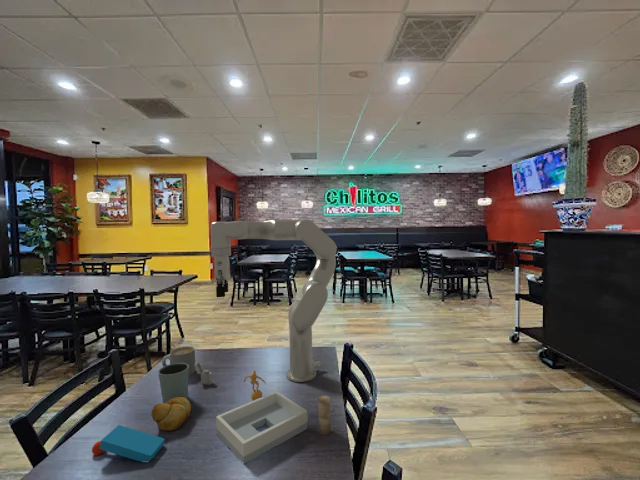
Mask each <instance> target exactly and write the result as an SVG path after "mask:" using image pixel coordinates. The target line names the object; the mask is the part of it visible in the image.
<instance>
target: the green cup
mask: <svg viewBox="0 0 640 480" xmlns="http://www.w3.org/2000/svg"><path fill="white" fill-rule="evenodd" d="M157 373H158V378H159V385H160V388H159V389H160V393H161V398H162V399H161V402H162V403H166V402H167V401H169V400H171V399H173V398H176V397H184V398H186V399H187V400H188V399H189V375H188V373H189V365H188V364H186V363H174V364H170V363H169V364H167V366H164V367H163V366H162V367H161V368H160V369H158V372H157Z"/></svg>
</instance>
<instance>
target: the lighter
mask: <svg viewBox="0 0 640 480" xmlns="http://www.w3.org/2000/svg"><path fill="white" fill-rule="evenodd" d="M194 366H195V372H196V373H197V375H200V383H201V385H209V386H210V385H211V384H213V372H212V371H211V372H210V370H209V369H204V370H203V368H202V366H201V364H200V362H197V363H195V365H194Z"/></svg>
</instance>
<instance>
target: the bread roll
mask: <svg viewBox="0 0 640 480" xmlns="http://www.w3.org/2000/svg"><path fill="white" fill-rule="evenodd" d="M191 412H192V404H191V402H190V401H189V400H188V399H186V398H184V397H176V398H173V399H171V400H169V401H167V402H166V403H163V402H162V403H156V404H155V405H154V406H153V407H152V408H151V413H150V414H151V417H152V418H151V419H152V420H153V422H155V423H156V424H157V428H158V429H159V430H161V431H165V432H170V431H174V430H177V429H179V427H181V426H183V423H185V422H186V421H187V420H188V419H189V417H190V415H191Z"/></svg>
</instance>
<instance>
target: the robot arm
mask: <svg viewBox="0 0 640 480" xmlns="http://www.w3.org/2000/svg"><path fill="white" fill-rule="evenodd" d="M231 239H232V240H248V239H249V240H257V239H258V240H268V241H269V240H270V241H302V242H303V243H304V244H305V245H306V246H307V247H308V248H309V249H310V250H312V252H313V253H314V255H315V257H316V262H315V266H314V267H313V269H312V271H311V273H310V275H308V278H307V280H306V281H305V283H304V284H303V287H302V290H301V293H302V296H301V297H300V298H301V299H300V300H296V301H294V302H292V304H290V306H289V308H288V313H287V314H288V329H289V331H288V333H289V336H288V337H289V369H288V371H287V372H286V378H287V379H288V380H289V381H291V382H295V383H307V382H310V381H312V380H314V379H315V378H316V377H317V371H316V370H315V369H316V368H317V367H321V366H322V363H321V361H320V360H319V361H315V360H313V325H314V324H315V323H316V321H317V319H318V317H319V315H320V314H321V312H322V310H323V309H324V306H325V305H326V303H327V300H328V298H329V297H328V296H329V293H328V292H329V291H328V288H327V286H328V285H329V283H330V282H331V279H332V277H333V275H334V273H335V270H336V267H337V260H336V253H337V250H338V249H337V244H336V242H335V241H334V240H333V239H332V238H331V237H329V235H327V234H326V233H325V232H324V231H323V230H322V229H321V228H320V227H318V225H317V224H316V223H314V221H312V220H310V219H271V220H265V221H264V220H263V221H262V220H261V221H243V220H234V221H213V222H212V223H211V224H210V248H211V249H210V250H211V254H210V255H211V257H213V258H214V261H213V262H214V269H213V270H214V281H215V282H216V284H215V285H216V286H215V295H216V296H215V297H216V298H224V297H226V293H228V292H229V282H228V281H229V280H230V279H231V264H230V256H232V248H231V246H232V245H231V244H232V243H231V242H232V241H231Z"/></svg>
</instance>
